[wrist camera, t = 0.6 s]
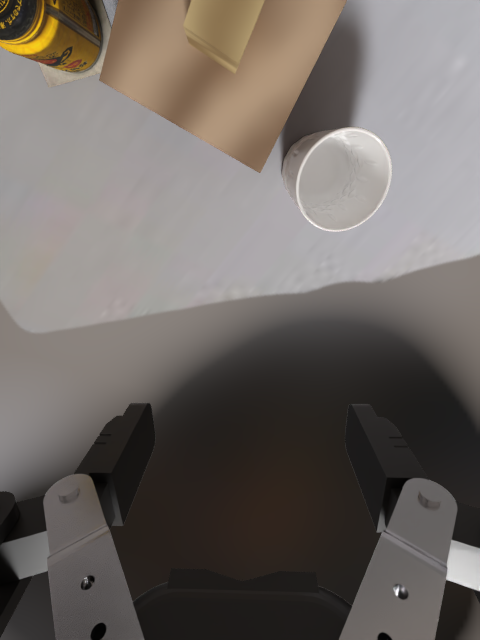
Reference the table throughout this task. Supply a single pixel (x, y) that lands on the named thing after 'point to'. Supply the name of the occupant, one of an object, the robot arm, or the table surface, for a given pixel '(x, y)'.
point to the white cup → (338, 176)
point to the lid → (219, 64)
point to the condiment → (57, 36)
